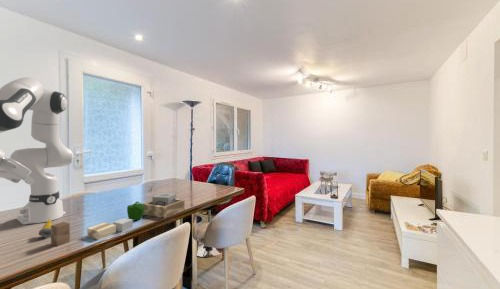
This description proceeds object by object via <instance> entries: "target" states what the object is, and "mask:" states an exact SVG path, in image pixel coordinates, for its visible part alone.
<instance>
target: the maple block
mask: <svg viewBox="0 0 500 289" xmlns="http://www.w3.org/2000/svg"><path fill="white" fill-rule="evenodd" d="M116 233H117V231H116V225H113V223H108V222H102V223H98V224H96V225H93V226H90V227H87V232H86V235H87V237H88V238H91V239H95V240H99V241H100V240H102V239H104V238H107V237H109V236H111V235H114V234H116Z"/></svg>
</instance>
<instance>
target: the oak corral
mask: <svg viewBox="0 0 500 289" xmlns="http://www.w3.org/2000/svg"><path fill="white" fill-rule="evenodd" d="M185 202H186V201H185V199H181V198H176V202H175V203H172V204H170V205H167V206H158V205H153V201H152V200H150V201H147V202H144V203H141V204H142V205H143V206H144V212H143V215H147V216H151V217H152V216H153V217H156V216H157V218H161V217H163V218H162V219H166V218H168V217H170V216H173V215H175V214H177V213H179V211H180V212H181V210H182V211H184V210H185V206H186V205H185ZM183 209H184V210H183Z"/></svg>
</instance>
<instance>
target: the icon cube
mask: <svg viewBox="0 0 500 289" xmlns="http://www.w3.org/2000/svg"><path fill="white" fill-rule="evenodd" d="M151 198H152V200H151V201H153V205H158V206H167V205H170V204H172V203H175V202H176V199H177V193H176V192H175V193H172V192H171V193H170V192H160V193H158V194H156V195H154V196H152V197H151Z"/></svg>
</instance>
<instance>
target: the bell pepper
mask: <svg viewBox="0 0 500 289" xmlns="http://www.w3.org/2000/svg"><path fill="white" fill-rule="evenodd" d="M142 204H143V203H142V202H141V203H140V202H139V201H135V202H134V203H132V204H129V205H127V207H126V211H127V216H128V219H132V220H133V221H135V220H136V221H139V220H141V219H142V218H143V215H144V214H143V212H144V206H143V205H142Z"/></svg>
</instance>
